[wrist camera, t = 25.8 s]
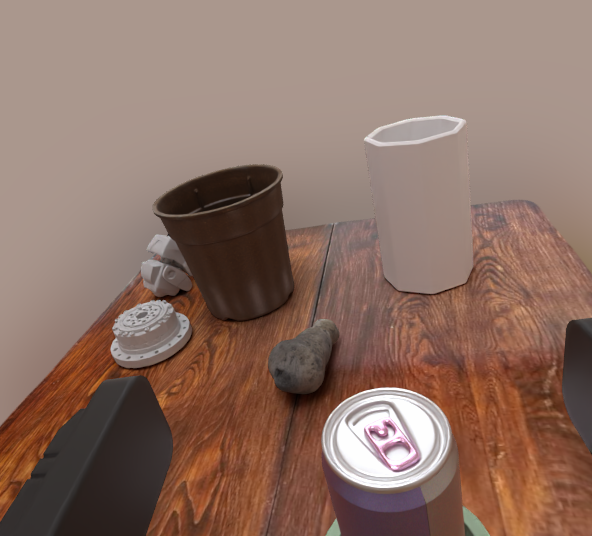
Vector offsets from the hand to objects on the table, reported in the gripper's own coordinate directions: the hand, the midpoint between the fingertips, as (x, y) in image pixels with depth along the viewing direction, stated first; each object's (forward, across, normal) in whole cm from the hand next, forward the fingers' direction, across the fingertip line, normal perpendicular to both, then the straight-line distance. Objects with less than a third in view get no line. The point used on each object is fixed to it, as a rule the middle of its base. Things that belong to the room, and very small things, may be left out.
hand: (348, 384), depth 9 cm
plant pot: (+48, +15, +26) cm, 57 cm away
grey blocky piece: (+55, +28, +26) cm, 67 cm away
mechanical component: (+40, +27, +26) cm, 55 cm away
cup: (+48, -9, +26) cm, 55 cm away
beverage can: (+8, -1, +25) cm, 26 cm away
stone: (+31, +6, +26) cm, 41 cm away
